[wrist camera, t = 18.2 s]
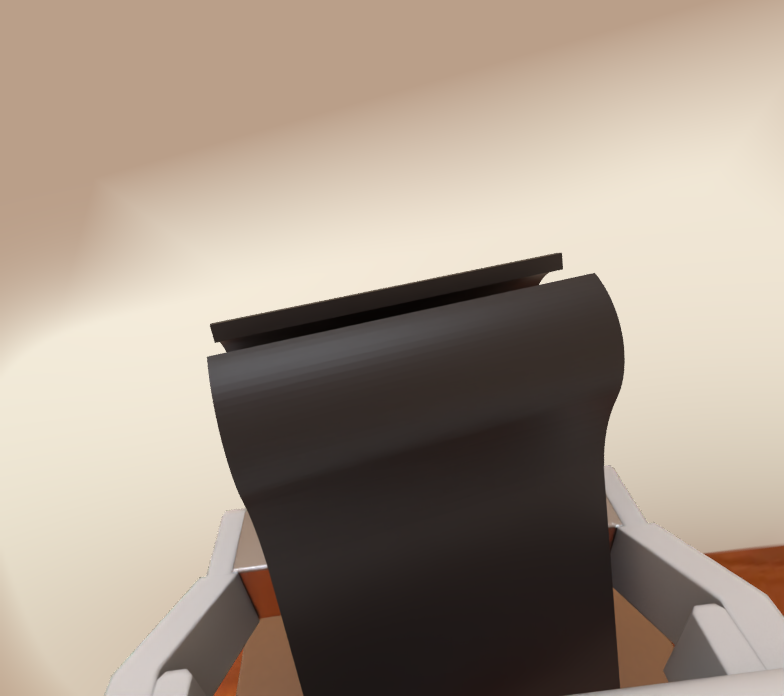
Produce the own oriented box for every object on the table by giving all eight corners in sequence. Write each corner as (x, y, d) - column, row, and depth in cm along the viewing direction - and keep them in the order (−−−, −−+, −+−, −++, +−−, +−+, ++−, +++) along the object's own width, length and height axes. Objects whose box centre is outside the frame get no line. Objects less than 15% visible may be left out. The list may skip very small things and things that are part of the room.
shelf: (306, 875, 24) (221, 775, 15) (317, 656, 32) (265, 514, 24) (624, 831, 24) (709, 711, 16) (552, 626, 32) (582, 475, 24)
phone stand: (627, 828, 11) (882, 449, 4) (371, 944, 10) (168, 681, 3) (468, 512, 18) (470, 195, 12) (313, 559, 17) (217, 238, 10)
